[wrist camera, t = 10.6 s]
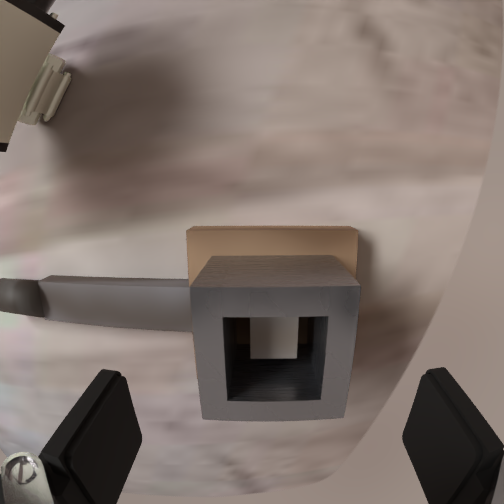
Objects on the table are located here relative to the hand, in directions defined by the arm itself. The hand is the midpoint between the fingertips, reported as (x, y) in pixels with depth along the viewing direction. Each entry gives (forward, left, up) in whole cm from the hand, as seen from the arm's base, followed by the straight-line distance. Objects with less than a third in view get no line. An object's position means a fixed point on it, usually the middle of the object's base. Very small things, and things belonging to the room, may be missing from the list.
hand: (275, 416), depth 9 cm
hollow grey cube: (+1, 0, -11) cm, 11 cm away
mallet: (+1, -8, -13) cm, 15 cm away
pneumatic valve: (-15, -17, -13) cm, 26 cm away
